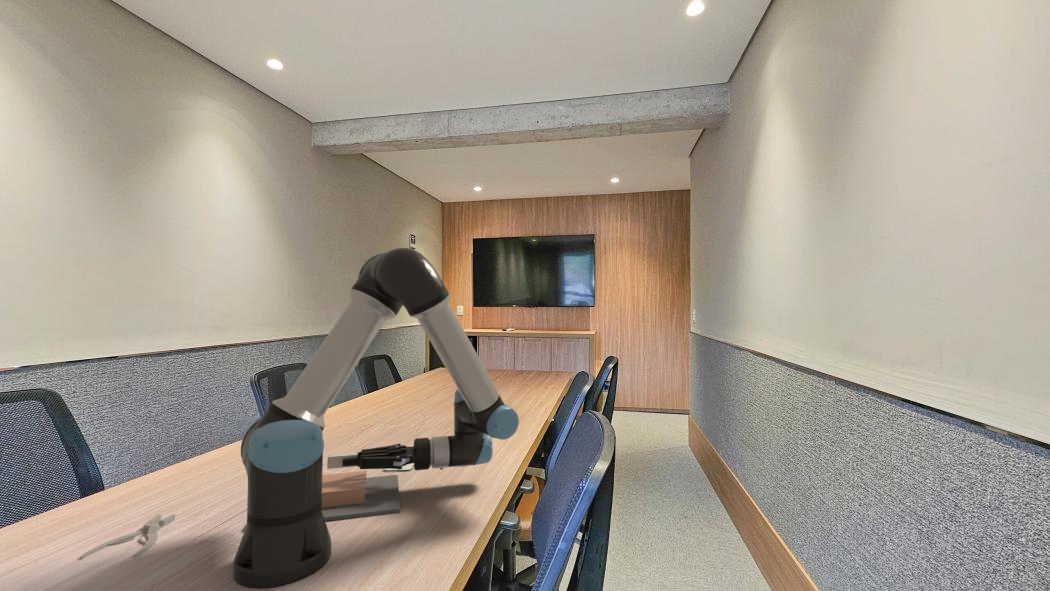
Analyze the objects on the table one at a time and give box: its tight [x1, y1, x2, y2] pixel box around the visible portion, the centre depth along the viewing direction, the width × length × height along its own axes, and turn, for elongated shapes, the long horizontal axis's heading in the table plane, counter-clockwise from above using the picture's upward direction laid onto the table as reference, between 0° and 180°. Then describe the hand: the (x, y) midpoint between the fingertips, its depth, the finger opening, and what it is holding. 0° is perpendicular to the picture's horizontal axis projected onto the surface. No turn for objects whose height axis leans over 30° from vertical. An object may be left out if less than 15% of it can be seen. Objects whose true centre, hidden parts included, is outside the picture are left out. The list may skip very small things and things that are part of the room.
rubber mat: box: [244, 474, 401, 529], centre depth 105 cm, size 22×30×1 cm
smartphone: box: [383, 463, 414, 472], centre depth 133 cm, size 8×1×16 cm
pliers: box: [78, 514, 176, 560], centre depth 88 cm, size 10×2×15 cm
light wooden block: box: [322, 470, 368, 508], centre depth 105 cm, size 12×3×18 cm
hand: (327, 462), depth 106 cm, fingers closed
